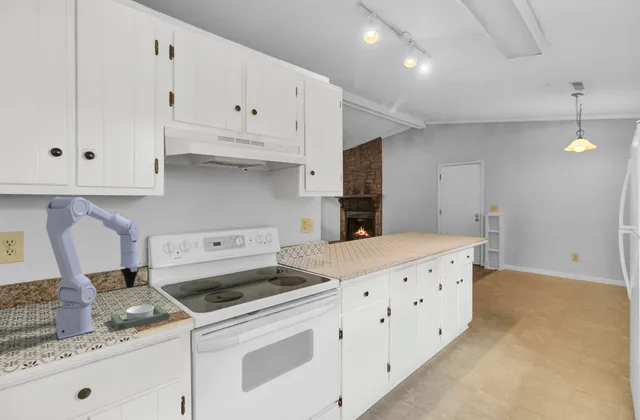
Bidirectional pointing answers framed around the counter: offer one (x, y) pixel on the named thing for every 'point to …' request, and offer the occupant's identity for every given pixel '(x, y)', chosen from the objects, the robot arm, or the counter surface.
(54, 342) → the counter surface
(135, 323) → the chute bay
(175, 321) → the counter surface
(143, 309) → the ramekin
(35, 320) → the counter surface
